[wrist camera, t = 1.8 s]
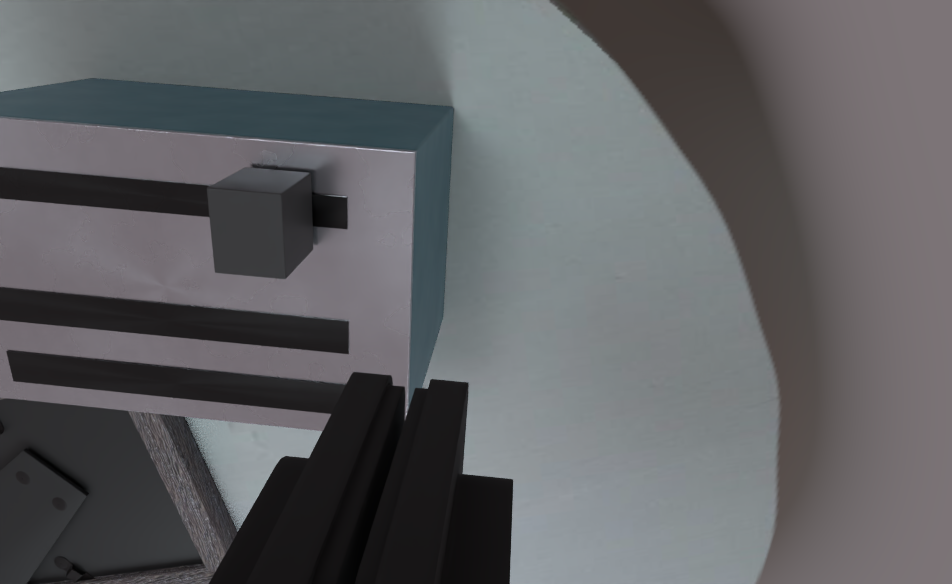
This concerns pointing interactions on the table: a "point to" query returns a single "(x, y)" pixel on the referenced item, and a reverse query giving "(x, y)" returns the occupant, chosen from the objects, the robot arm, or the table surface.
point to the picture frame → (105, 498)
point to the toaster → (191, 255)
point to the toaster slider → (261, 222)
